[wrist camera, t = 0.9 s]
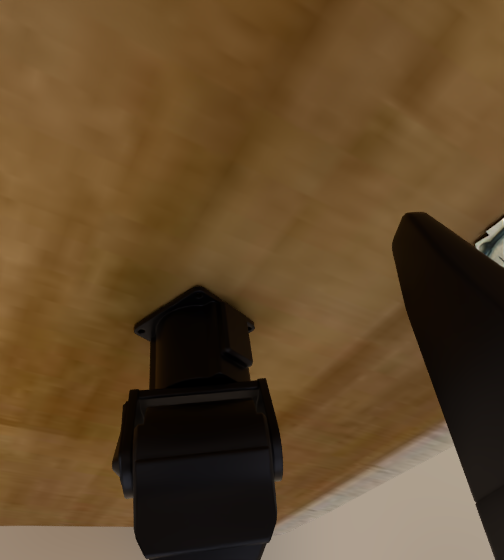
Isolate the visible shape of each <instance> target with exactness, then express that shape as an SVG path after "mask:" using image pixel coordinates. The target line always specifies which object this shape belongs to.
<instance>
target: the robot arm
mask: <svg viewBox="0 0 504 560" xmlns="http://www.w3.org/2000/svg"><path fill="white" fill-rule="evenodd" d="M392 251H393V256H394V260H395V264H396V269H397V273H398V278H399V282H400V286H401V291H402V295H403V299H404V303H405V307H406V311H407V314H408V317H409V320H410V323H411V326H412V328H413V331H414V334H415V337H416V339H417V342H418V345H419V348H420V351H421V353H422V356H423V359H424V362H425V364H426V367H427V370H428V373H429V376H430V378H431V381H432V384H433V387H434V390H435V392H436V395H437V398H438V401H439V403H440V406H441V409H442V412H443V415H444V417H445V420H446V423H447V426H448V429H449V431H450V434H451V437H452V440H453V442H454V445H455V448H456V451H457V454H458V456H459V459H460V462H461V465H462V467H463V470H464V473H465V476H466V478H467V481H468V484H469V487H470V490H471V493H472V495H473V498H474V501H475V502H476V507H477V510H478V513H479V516H480V518H481V521H482V524H483V527H484V530H485V532H486V535H487V538H488V541H489V543H490V546H491V549H492V552H493V554H494V557H495V560H504V267H502V266H501V265H499V264H498V263H496V262H495V261H494V260H492V259H491V258H489V257H488V256H487V255H485V254H484V253H482V252H481V251H479V250H478V249H477V248H475V247H474V246H472V245H471V244H469V243H468V242H467V241H465V240H464V239H462V238H461V237H460V236H458V235H457V234H455V233H454V232H452V231H451V230H450V229H448V228H447V227H445V226H444V225H442V224H441V223H440V222H438V221H437V220H435V219H434V218H433V217H431V216H430V215H428V214H427V213H424V212H411V213H406V214H405V215H404V216H403V217H402V219H401V222H400V224H399V227H398V229H397V231H396V234H395V236H394V239H393V242H392ZM197 293H199V294H197ZM254 329H255V327H254V322H253V321H251V320H250V319H249V318H247V317H246V316H245V315H244V314H242V313H241V312H239V311H238V310H236V309H235V308H233V307H232V306H230V305H229V304H228V303H226V302H224V301H222V300H221V299H219V298H218V297H217V296H215V295H214V294H212V293H211V292H209V291H208V290H206V289H205V288H203V287H200V286H197V287H194V288H192V289H190V290H189V291H187V292H186V293H184V294H183V295H181V296H179V297H178V298H176V299H175V300H173V301H172V302H170V303H168V304H167V305H165V306H164V307H162V308H161V309H159V310H158V311H156V312H154V313H153V314H151V315H150V316H148V317H147V318H145V319H143V320H142V321H140V322H139V323H137V324H136V325H135V327H134V332H135V334H137V335H139V336H141V337H143V338H144V339H146V340H148V341H150V383H149V390H139V389H134V390H130V392H129V399H128V401H126V403H125V404H124V405H123V412H122V425H121V432H120V436H119V439H118V443H117V446H116V450H115V453H114V457H113V461H112V469H113V471H114V472H115V473H116V474H117V475H118V476H119V477H120V481H121V484H122V488H123V493H124V497H125V498H126V499H129V498H133V507H134V533H135V537H136V540H137V542H138V545H139V546H140V549H141V551H142V553H143V555H144V556H145V558H146V559H149V560H260V559H261V557H262V554H263V551H264V548H265V546H266V544H267V543H269V541H270V540H271V537H272V534H273V531H274V527H275V524H276V520H277V504H276V493H275V483H274V482H275V481H281V480H282V476H283V456H282V446H281V438H280V433H279V428H278V423H277V420H276V416H275V412H274V408H273V404H272V400H271V396H270V393H269V389H268V385H267V381H266V378H262V379H257V380H255V381H250V374H249V367H250V366H252V363H253V359H252V352H251V345H250V339H249V333H250V332H252V331H253V330H254Z"/></svg>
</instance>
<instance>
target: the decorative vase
mask: <svg viewBox="0 0 504 560" xmlns="http://www.w3.org/2000/svg"><path fill="white" fill-rule="evenodd" d="M486 232H487V233H488V235H489V236H487V237H485V238H484V239H482V240H481V241H479V242H477V243H476V244H475V245H476V248H477V249H478V250H479V251H481V252H482V253H484V254H485V255H487V256H488V257H489V258H491V259H492V260H494V261H495V262H496V263H498V264H499V265H501V266H502V267H504V218H503V219H502V220H501V221H499V222H498V223H497V224H496V225H495V226H493V227H492V228H490V229H489V230H487V231H486Z"/></svg>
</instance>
